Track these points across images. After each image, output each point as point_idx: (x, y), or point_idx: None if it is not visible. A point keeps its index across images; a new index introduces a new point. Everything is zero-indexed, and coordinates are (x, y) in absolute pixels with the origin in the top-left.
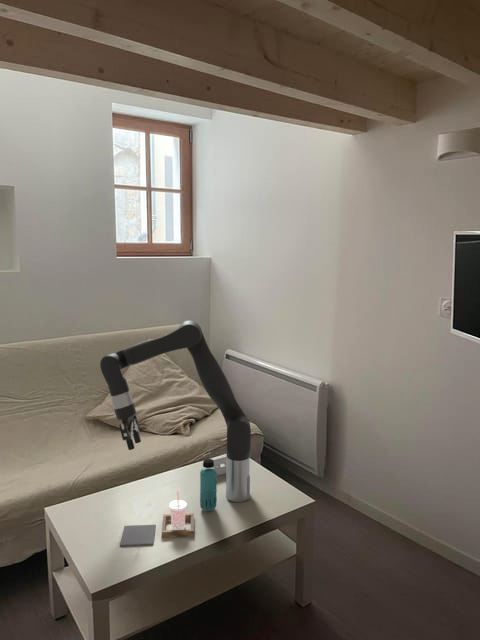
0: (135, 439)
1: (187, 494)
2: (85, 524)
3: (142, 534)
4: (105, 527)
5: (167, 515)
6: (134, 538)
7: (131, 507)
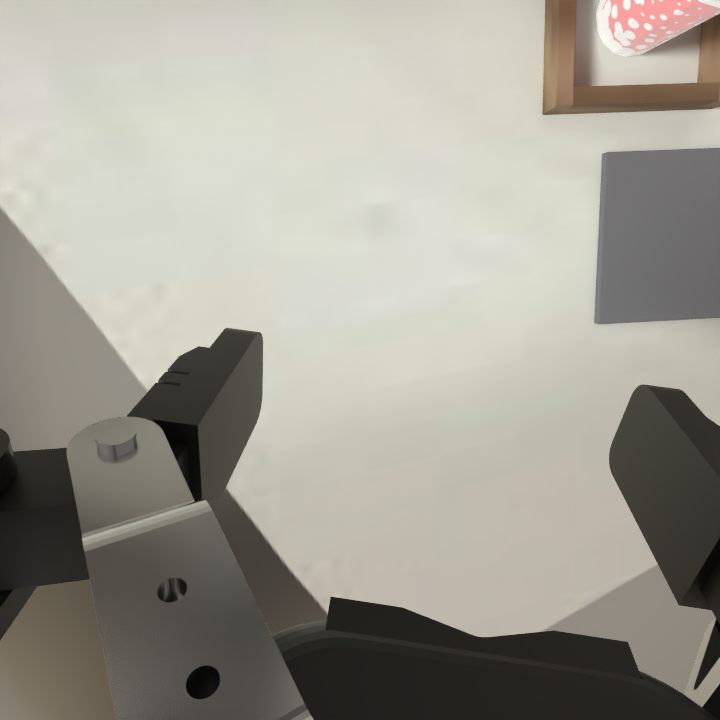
0: (241, 434)
1: None
2: (549, 513)
3: (689, 215)
4: (584, 415)
5: (570, 77)
6: (716, 252)
7: (406, 320)
